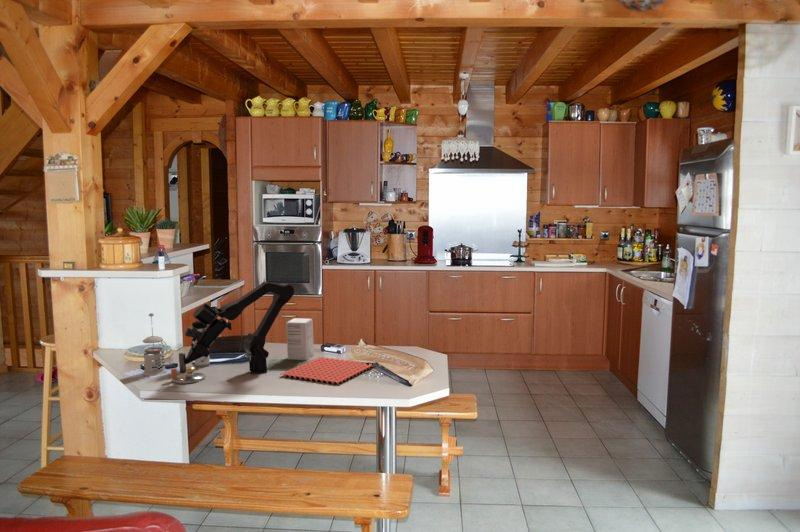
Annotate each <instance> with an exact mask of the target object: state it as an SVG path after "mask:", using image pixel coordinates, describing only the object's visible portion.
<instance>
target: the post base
mask: <svg viewBox="0 0 800 532" xmlns="http://www.w3.org/2000/svg"><path fill="white" fill-rule="evenodd" d="M177 369H178V368H177V367H173V368H170V374H171V375H170V376H171V381H173V383H174V384H178V385H188V384H195V383H199V381H200V382H203V381H204V380H205V379H206V375H205V374H204V373H202V372H192V373H187V374H186V375H181V374H179V375H178V372H177V371H178V370H177Z"/></svg>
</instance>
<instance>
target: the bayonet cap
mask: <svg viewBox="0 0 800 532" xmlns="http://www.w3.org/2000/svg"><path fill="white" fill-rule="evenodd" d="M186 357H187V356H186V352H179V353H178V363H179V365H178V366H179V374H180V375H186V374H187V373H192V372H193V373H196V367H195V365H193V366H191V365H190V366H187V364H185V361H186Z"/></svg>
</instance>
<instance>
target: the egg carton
mask: <svg viewBox="0 0 800 532" xmlns="http://www.w3.org/2000/svg"><path fill="white" fill-rule="evenodd" d="M362 362H363V361H358V362H357V361H354V360H348V359H346V360H345V359H343V358H342V359H339V358H335V359H334V357H331V358H329V357H324V356H319V357H317V358H315V359H312V360H310V361H307V362H306V363H303V364H300V365H299V366H296V367H293V368H292V369H288V370H285V371H284V372H280V376H281V375H283V377H284V379H285V378H287V377H286V376H288V377H289V379H291V378H292V376H293V378H294V380H296V379H297V377H298V378H299V380H300V381H301V380H302V378H303V379H304V381H307V379H308V380H310V382H313V380H314V381H315V383H318V380H319V382H321V384H324V383H325V382H326V384H327V385H329V382H330V383H331V384H332V385H334V383H335V384H337V386H338V387H339V386H340V382H341V384H342V385H343V382H345V383H347V379H348V381H350V379H354V375H355V377H357V376H358V375H359V376H360V375H361V374H364V371H365V372H367V369H368V370H369V369H370V370H371V367H372V363H369V365H367V364H366V363H367V362H364V363H362ZM362 364H363V365H362ZM361 372H362V373H361ZM323 382H324V383H323ZM334 386H335V385H334Z"/></svg>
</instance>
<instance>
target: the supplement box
mask: <svg viewBox="0 0 800 532" xmlns="http://www.w3.org/2000/svg"><path fill="white" fill-rule="evenodd" d="M313 323H314V322H313V318H303V317H301V318H300V317H299V318H298V317H297V318H295V317H293V318H292V319H289V320H288V321H287V322H286V323H285V325H286V326H285V327H286V329H285V330H286V346H287V349H286V351H287V360H294V361H296V360H297V361H304V360H305V361H307V360H309V359H310V358H311V357H313V356H314V354H315V353H314V351H315V348H314V347H315V346H314V325H313Z"/></svg>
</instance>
